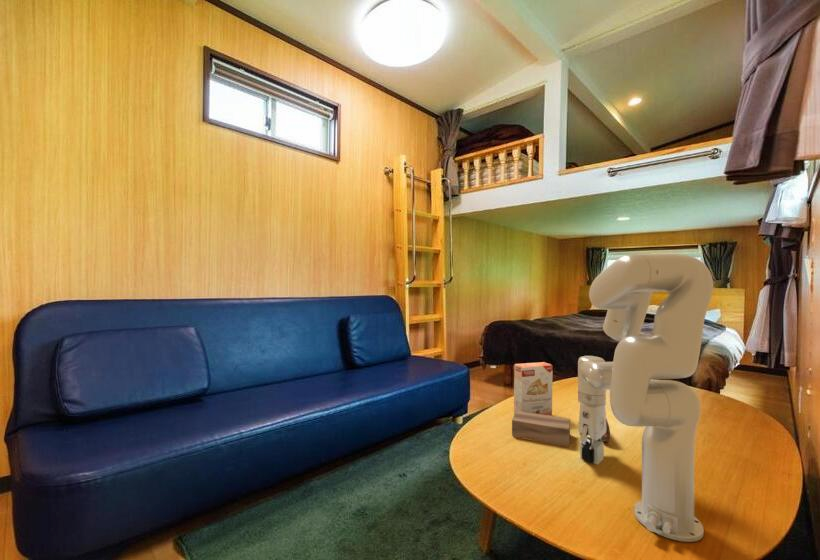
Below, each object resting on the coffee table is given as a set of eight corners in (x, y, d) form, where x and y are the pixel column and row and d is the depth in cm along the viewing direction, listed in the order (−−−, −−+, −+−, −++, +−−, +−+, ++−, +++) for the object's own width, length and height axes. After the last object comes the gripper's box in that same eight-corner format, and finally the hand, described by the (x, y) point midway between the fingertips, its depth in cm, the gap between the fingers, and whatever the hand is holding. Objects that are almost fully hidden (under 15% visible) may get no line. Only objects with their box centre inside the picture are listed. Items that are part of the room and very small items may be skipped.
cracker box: (522, 421, 136) (521, 367, 135) (513, 415, 141) (513, 363, 141) (553, 417, 139) (553, 364, 139) (543, 412, 145) (543, 361, 145)
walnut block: (568, 448, 115) (568, 429, 115) (512, 437, 123) (512, 420, 123) (570, 435, 124) (569, 418, 124) (517, 426, 132) (516, 410, 132)
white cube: (597, 464, 104) (597, 447, 104) (580, 458, 108) (580, 442, 108) (603, 458, 108) (603, 442, 108) (586, 453, 111) (586, 437, 111)
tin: (611, 446, 115) (611, 420, 115) (600, 445, 116) (600, 419, 116) (596, 427, 130) (596, 404, 130) (587, 426, 131) (587, 404, 131)
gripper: (594, 408, 99) (595, 472, 99) (614, 394, 111) (614, 451, 111) (567, 401, 104) (567, 462, 104) (589, 388, 116) (589, 443, 116)
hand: (591, 456), depth 108 cm, fingers open, 5 cm apart
